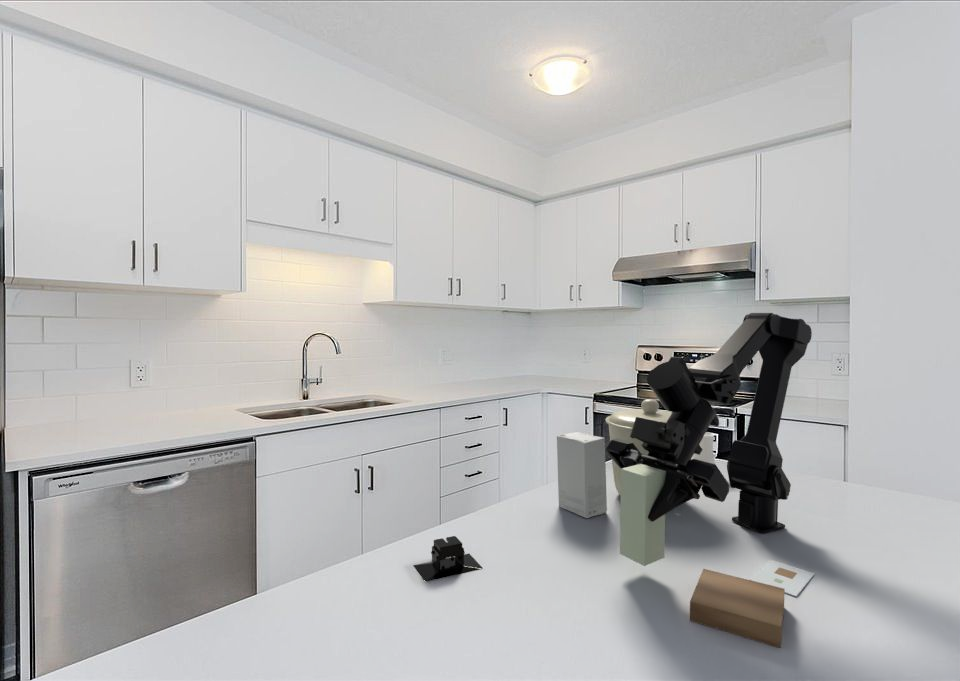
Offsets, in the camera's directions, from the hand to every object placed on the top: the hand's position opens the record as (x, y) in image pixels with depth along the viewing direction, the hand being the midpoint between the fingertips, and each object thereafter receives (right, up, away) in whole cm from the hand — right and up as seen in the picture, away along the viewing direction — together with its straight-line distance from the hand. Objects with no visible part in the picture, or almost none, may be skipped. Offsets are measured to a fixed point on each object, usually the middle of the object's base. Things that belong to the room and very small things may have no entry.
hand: (636, 514), depth 76 cm
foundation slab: (+10, -10, -9) cm, 17 cm away
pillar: (+1, -7, +1) cm, 7 cm away
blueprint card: (+22, -10, 0) cm, 24 cm away
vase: (+31, -7, +50) cm, 60 cm away
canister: (+13, -8, +34) cm, 37 cm away
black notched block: (-28, -10, +3) cm, 30 cm away
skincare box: (-3, -8, +27) cm, 28 cm away
